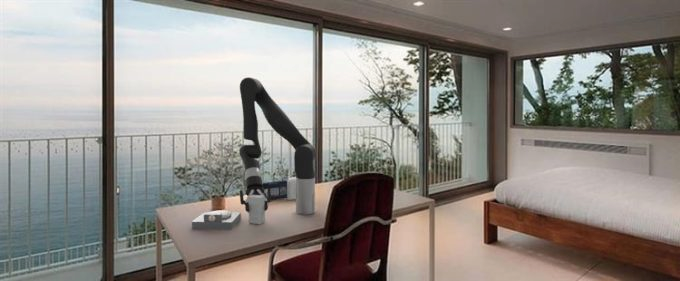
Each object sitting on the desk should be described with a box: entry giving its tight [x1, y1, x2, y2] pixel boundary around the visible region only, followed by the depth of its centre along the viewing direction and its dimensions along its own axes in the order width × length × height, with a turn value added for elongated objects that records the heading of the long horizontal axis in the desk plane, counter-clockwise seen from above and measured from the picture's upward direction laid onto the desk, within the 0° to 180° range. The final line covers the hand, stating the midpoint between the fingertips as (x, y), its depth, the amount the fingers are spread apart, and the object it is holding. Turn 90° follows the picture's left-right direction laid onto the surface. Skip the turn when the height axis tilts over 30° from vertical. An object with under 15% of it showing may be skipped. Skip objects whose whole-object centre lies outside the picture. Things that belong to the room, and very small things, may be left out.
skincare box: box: [247, 195, 266, 225], centre depth 170 cm, size 6×4×12 cm
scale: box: [191, 209, 242, 230], centre depth 168 cm, size 17×14×6 cm
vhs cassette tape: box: [262, 179, 288, 201], centre depth 209 cm, size 18×3×10 cm, turn 120°
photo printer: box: [286, 176, 296, 201], centre depth 212 cm, size 10×4×12 cm, turn 123°
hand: (257, 210), depth 168 cm, fingers closed on skincare box, 7 cm apart
